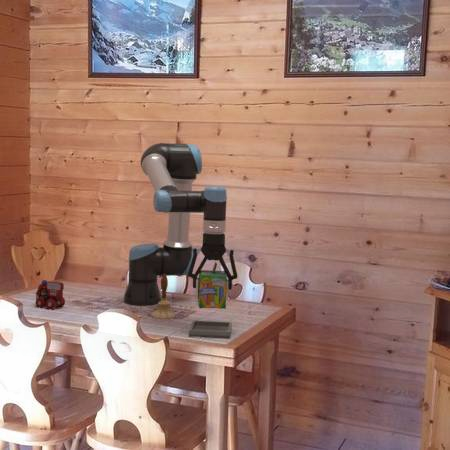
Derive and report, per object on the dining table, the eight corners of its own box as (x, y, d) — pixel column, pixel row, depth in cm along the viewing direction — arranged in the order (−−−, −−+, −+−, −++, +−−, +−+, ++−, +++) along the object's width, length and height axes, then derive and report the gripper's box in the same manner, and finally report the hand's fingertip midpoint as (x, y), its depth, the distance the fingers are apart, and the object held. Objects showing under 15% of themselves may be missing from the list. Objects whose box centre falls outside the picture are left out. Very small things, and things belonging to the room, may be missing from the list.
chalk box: (197, 302, 237) (198, 260, 235) (224, 303, 237) (225, 261, 236) (198, 308, 227) (200, 264, 226) (226, 309, 228) (227, 265, 227)
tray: (188, 336, 227) (189, 330, 227) (192, 326, 240) (193, 320, 240) (229, 338, 226) (230, 331, 226) (231, 328, 240) (231, 322, 240)
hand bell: (175, 319, 251) (176, 276, 249) (152, 319, 249) (153, 276, 248) (173, 314, 259) (174, 272, 257) (151, 314, 258) (152, 272, 256)
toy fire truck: (43, 303, 269) (43, 277, 268) (68, 307, 264) (68, 281, 263) (31, 306, 263) (31, 280, 262) (56, 310, 257) (56, 283, 256)
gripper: (180, 232, 227) (178, 299, 229) (246, 235, 226) (244, 301, 228) (182, 230, 234) (180, 294, 236) (247, 232, 233) (244, 297, 235)
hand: (211, 298), depth 232 cm, fingers closed on chalk box, 9 cm apart
